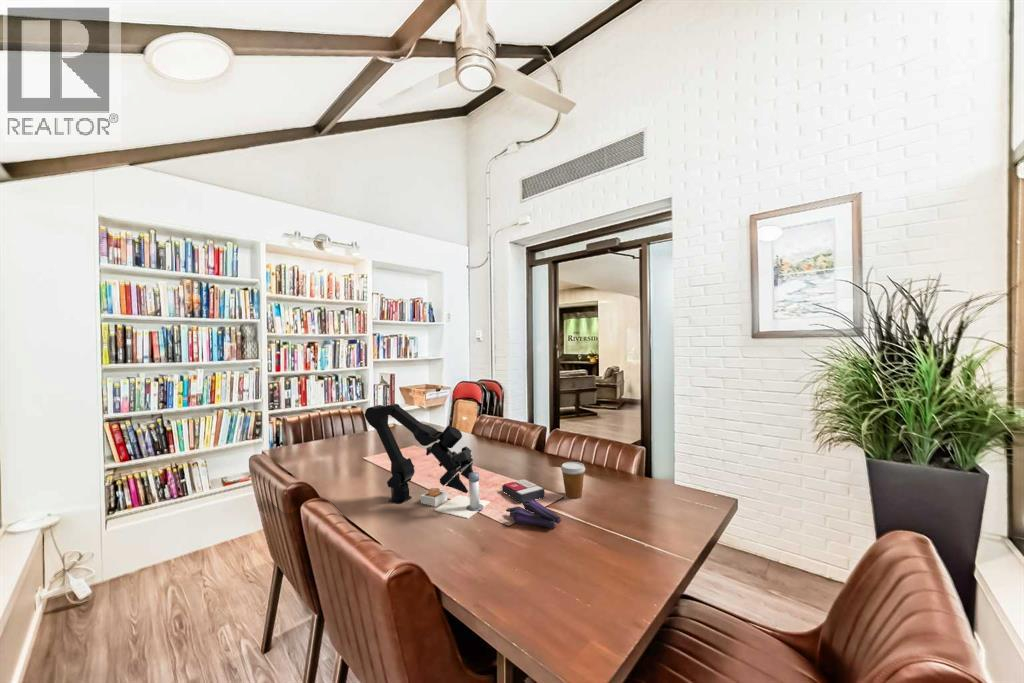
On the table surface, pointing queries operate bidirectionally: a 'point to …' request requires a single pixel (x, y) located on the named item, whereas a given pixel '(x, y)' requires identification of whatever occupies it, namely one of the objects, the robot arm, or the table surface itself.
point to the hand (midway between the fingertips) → (472, 487)
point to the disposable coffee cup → (573, 479)
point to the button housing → (434, 499)
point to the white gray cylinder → (474, 490)
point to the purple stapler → (528, 516)
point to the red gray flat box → (523, 490)
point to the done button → (434, 492)
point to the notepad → (460, 507)
